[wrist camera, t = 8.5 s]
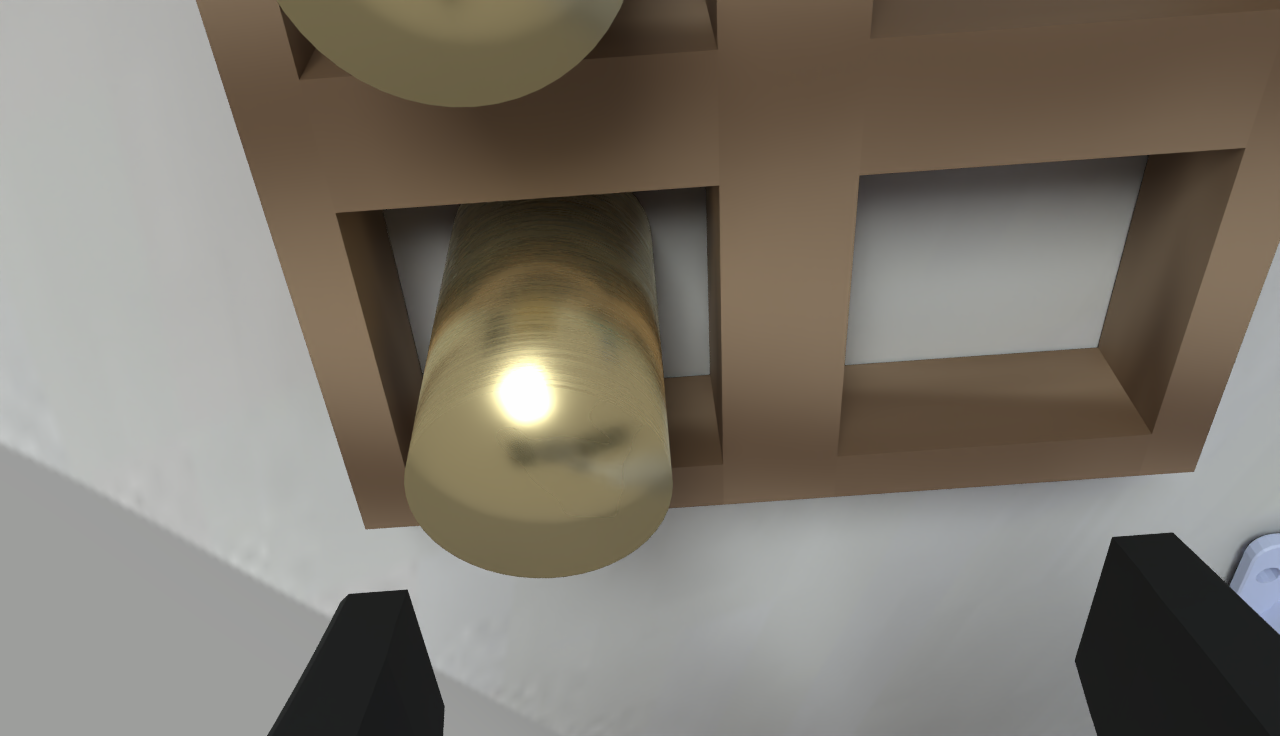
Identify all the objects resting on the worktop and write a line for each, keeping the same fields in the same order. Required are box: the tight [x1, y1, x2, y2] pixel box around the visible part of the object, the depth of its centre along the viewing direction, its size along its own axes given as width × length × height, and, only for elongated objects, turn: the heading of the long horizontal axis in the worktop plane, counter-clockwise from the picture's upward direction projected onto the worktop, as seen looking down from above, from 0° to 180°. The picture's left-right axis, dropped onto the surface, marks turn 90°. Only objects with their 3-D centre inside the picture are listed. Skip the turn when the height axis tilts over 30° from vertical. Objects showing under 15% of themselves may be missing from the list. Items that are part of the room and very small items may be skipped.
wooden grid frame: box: [196, 0, 1280, 529], centre depth 15 cm, size 15×15×2 cm
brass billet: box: [404, 192, 673, 578], centre depth 16 cm, size 4×4×6 cm
